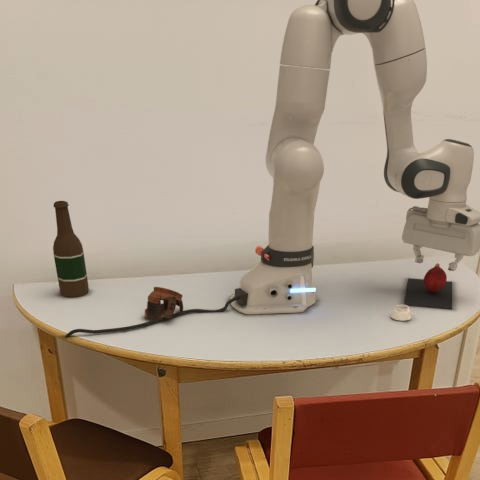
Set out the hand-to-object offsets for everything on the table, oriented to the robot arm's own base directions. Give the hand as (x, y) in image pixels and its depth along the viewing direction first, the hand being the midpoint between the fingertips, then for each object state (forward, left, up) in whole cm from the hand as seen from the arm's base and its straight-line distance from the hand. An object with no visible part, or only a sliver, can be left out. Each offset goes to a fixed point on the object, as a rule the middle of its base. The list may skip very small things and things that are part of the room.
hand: (435, 266), depth 157 cm
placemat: (0, +1, -8) cm, 8 cm away
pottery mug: (-71, +5, -8) cm, 72 cm away
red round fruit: (+1, 0, -8) cm, 8 cm away
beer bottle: (-92, +30, -8) cm, 97 cm away
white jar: (-16, -13, -8) cm, 22 cm away
